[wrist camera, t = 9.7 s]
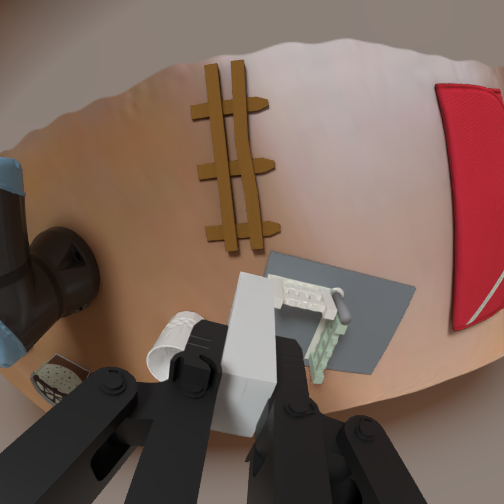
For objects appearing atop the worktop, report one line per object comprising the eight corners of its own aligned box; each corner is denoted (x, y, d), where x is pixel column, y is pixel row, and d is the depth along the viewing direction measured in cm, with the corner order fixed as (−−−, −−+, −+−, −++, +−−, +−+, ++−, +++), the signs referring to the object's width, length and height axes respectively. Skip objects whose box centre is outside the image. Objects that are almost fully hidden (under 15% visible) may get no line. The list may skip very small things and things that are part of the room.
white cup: (173, 299, 44) (152, 336, 34) (220, 318, 45) (210, 359, 35) (162, 336, 46) (142, 375, 37) (205, 353, 47) (193, 395, 38)
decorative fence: (210, 248, 42) (281, 242, 41) (207, 253, 40) (281, 247, 39) (189, 72, 33) (263, 62, 33) (185, 68, 32) (262, 57, 31)
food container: (53, 367, 52) (32, 394, 43) (51, 349, 50) (28, 376, 41) (96, 391, 53) (78, 421, 44) (96, 374, 51) (76, 406, 42)
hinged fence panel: (333, 291, 41) (343, 313, 35) (342, 292, 41) (353, 315, 35) (308, 358, 45) (312, 385, 39) (316, 359, 45) (321, 385, 39)
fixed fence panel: (269, 284, 42) (269, 306, 36) (271, 275, 41) (272, 296, 35) (325, 296, 42) (333, 320, 36) (328, 288, 41) (337, 310, 35)
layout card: (241, 351, 46) (241, 353, 46) (270, 250, 41) (271, 252, 40) (370, 372, 47) (371, 374, 47) (414, 286, 41) (416, 288, 41)
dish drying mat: (495, 89, 30) (508, 87, 26) (501, 301, 42) (510, 309, 39) (430, 85, 32) (443, 81, 28) (444, 324, 44) (453, 335, 41)
